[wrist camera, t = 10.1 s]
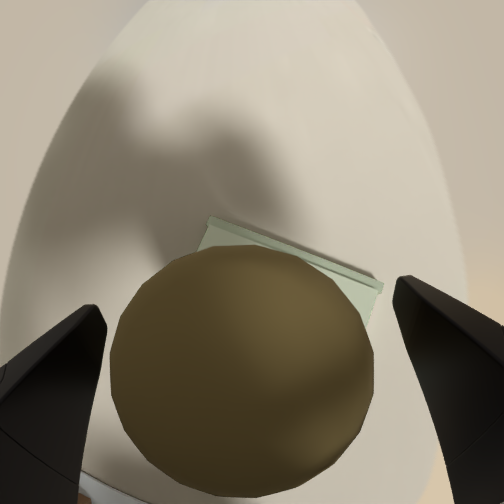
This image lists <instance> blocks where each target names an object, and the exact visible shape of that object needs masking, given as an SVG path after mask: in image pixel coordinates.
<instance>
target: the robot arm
mask: <svg viewBox="0 0 504 504" xmlns="http://www.w3.org/2000/svg"><path fill="white" fill-rule="evenodd" d="M392 303H393V308H394V311H395V314H396V318H397V321H398V324H399V327H400V330H401V334H402V337H403V340H404V344H405V347H406V350H407V352H408V355H409V357H410V360H411V362H412V365H413V367H414V370H415V373H416V375H417V378H418V380H419V383H420V386H421V388H422V391H423V394H424V397H425V400H426V402H427V405H428V408H429V411H430V414H431V417H432V420H433V423H434V426H435V430H436V433H437V436H438V439H439V443H440V446H441V450H442V453H443V456H444V461H445V464H446V468H447V473H448V477H449V481H450V485H451V489H452V494H453V499H454V503H455V504H504V326H503V325H502V326H501V325H500V324H499V323H497V322H495V321H494V320H492V319H491V318H488V317H487V316H485V315H483V314H482V313H480V312H478V311H477V310H475V309H473V308H471V307H469V306H468V305H466V304H464V303H462V302H460V301H459V300H457V299H455V298H453V297H451V296H449V295H448V294H446V293H444V292H442V291H440V290H438V289H436V288H434V287H433V286H431V285H429V284H427V283H425V282H423V281H421V280H419V279H417V278H415V277H413V276H411V275H406V276H400V277H398V278H397V281H396V285H395V290H394V295H393V300H392ZM106 336H107V324H106V322H105V320H104V318H103V316H102V314H101V312H100V310H99V308H98V306H97V305H95V304H87V305H83V306H82V307H81V308H79V309H78V310H76V311H75V312H74V313H72V314H71V315H69V316H68V317H67V318H65V319H64V320H62V321H61V322H60V323H58V324H57V325H56V326H54V327H53V328H52V329H50V330H49V331H48V332H46V333H45V334H44V335H42V336H41V337H40V338H38V339H37V340H36V341H34V342H33V343H32V344H30V345H29V346H28V347H26V348H25V349H24V350H23V351H21V352H20V353H19V354H17V355H16V356H15V357H14V358H12V359H11V360H10V361H8V363H6V364H5V365H3V366H2V367H1V368H0V504H77V503H78V492H79V482H80V474H81V466H82V459H83V453H84V447H85V441H86V435H87V430H88V425H89V420H90V415H91V410H92V405H93V401H94V397H95V392H96V388H97V384H98V380H99V376H100V371H101V366H102V359H103V353H104V347H105V342H106Z"/></svg>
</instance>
